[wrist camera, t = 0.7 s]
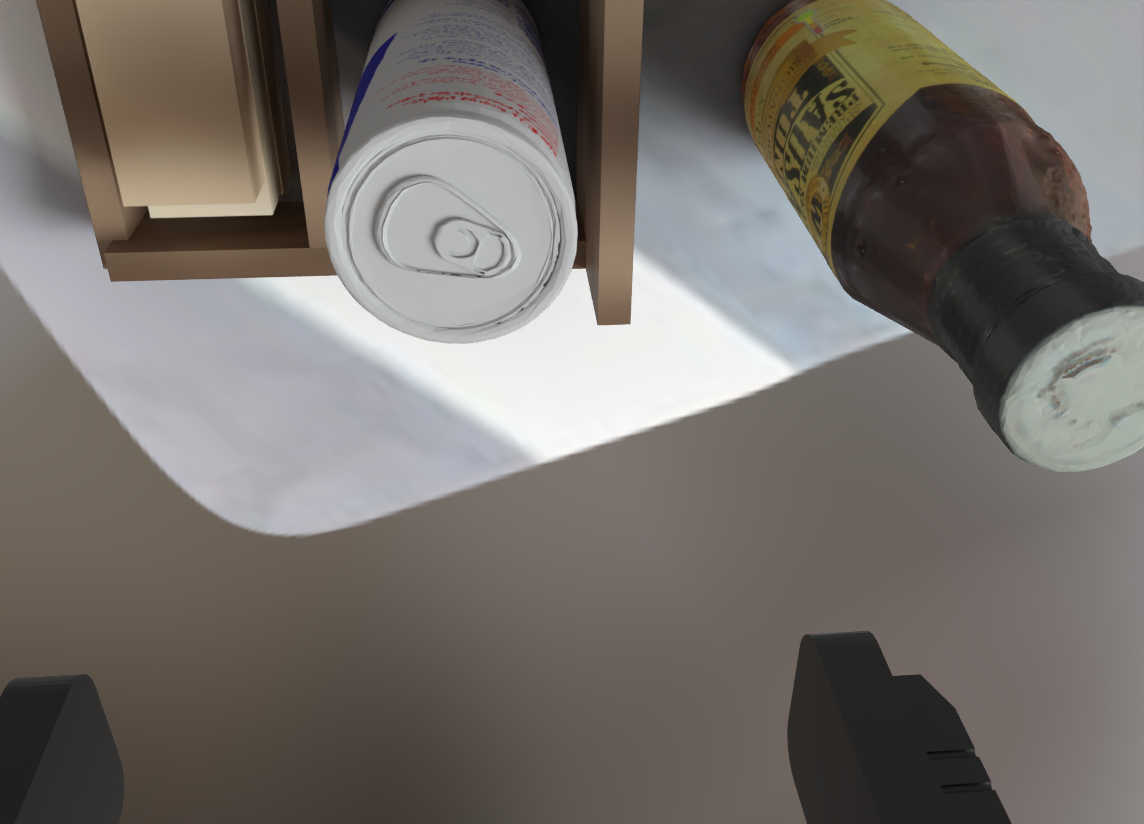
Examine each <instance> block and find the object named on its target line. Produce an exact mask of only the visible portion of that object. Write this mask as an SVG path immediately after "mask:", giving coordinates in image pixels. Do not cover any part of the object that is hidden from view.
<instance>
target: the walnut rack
mask: <svg viewBox="0 0 1144 824" xmlns="http://www.w3.org/2000/svg"><path fill="white" fill-rule="evenodd" d="M36 2H37V6H38V10H39V13H40V17H41V21H42V25H43V29H44V33H45V37H46V41H47V45H48V49H49V53H50V57H51V61H52V65H53V69H54V73H55V77H56V81H57V85H58V89H59V93H60V97H61V101H62V105H63V109H64V113H65V117H66V121H67V125H68V129H69V133H70V137H71V141H72V144H73V148H74V152H75V156H76V160H77V164H78V168H79V172H80V176H81V180H82V184H83V188H84V192H85V196H86V200H87V204H88V208H89V212H90V216H91V220H92V224H93V228H94V232H95V236H96V240H97V244H98V248H99V252H100V256H101V260H102V264H103V268H104V269H108V272H109V276H110V280H111V282H112V281H148V280H185V279H221V278H257V277H293V276H330V275H337V273H336V271H335V269H334V267H333V264H332V262H331V259H330V256H329V252H328V248H327V245H326V241H325V232H324V217H325V205H326V201H327V194H328V187H329V183H330V179H331V176H332V172H333V169H334V165H335V162H336V159H337V155H338V152H339V149H340V145H341V142H342V139H343V135H344V132H345V129H344V120H343V111H342V102H341V93H340V84H339V75H338V66H337V57H336V48H335V38H334V29H333V20H332V11H331V2H330V0H276V3H277V11H278V18H279V25H280V33H281V40H282V47H283V55H284V62H285V69H286V77H287V84H288V91H289V99H290V106H291V114H292V121H293V128H294V136H295V143H296V150H297V158H298V165H299V172H300V180H301V187H302V194H303V202H278V203H277V205H276V208H275V210H274V213H273V215H256V216H216V217H176V218H150V213H149V209H148V206H127V207H124V206H123V202H122V197H121V193H120V189H119V185H118V180H117V176H116V172H115V167H114V163H113V159H112V155H111V150H110V146H109V142H108V137H107V133H106V129H105V125H104V120H103V116H102V112H101V107H100V103H99V99H98V95H97V90H96V86H95V82H94V77H93V73H92V69H91V65H90V60H89V56H88V52H87V47H86V43H85V39H84V35H83V30H82V26H81V22H80V17H79V13H78V9H77V5H76V0H36ZM643 8H644V0H578V78H577V178H576V195H574V198H575V210H576V220H577V231H578V236H577V250H576V256H575V259H574V263H573V267H572V269H584V268H586V272H587V276H588V281H589V286H590V291H591V296H592V300H593V305H594V310H595V315H596V320H597V325H622V324H630V320H631V296H632V272H633V248H634V224H635V200H636V176H637V152H638V128H639V104H640V80H641V56H642V32H643Z"/></svg>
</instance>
